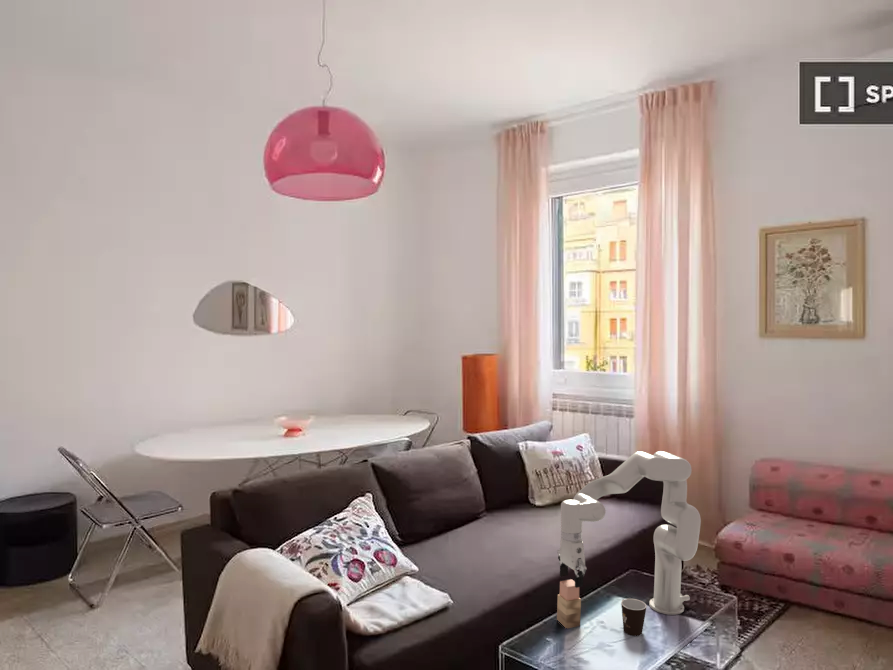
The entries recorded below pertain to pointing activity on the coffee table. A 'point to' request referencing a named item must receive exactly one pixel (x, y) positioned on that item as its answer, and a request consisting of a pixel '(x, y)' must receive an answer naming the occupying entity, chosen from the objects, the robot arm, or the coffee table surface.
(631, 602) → the coffee mug
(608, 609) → the coffee table surface
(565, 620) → the tower base
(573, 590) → the terracotta block
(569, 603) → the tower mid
